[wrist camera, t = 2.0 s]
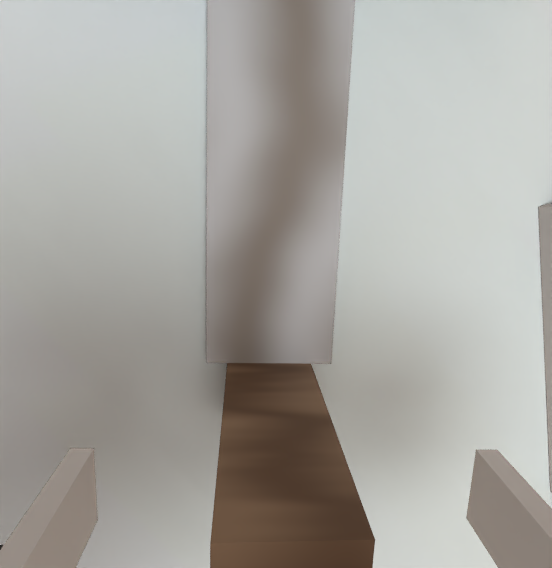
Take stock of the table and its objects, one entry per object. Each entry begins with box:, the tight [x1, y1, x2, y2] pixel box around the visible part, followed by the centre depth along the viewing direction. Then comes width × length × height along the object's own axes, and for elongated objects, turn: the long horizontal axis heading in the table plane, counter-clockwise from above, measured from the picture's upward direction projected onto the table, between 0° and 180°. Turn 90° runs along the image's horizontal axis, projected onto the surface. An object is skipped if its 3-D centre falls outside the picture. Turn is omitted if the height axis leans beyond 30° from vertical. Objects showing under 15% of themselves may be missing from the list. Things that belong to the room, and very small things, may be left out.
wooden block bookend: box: [206, 0, 375, 568], centre depth 15 cm, size 6×20×12 cm, turn 178°
